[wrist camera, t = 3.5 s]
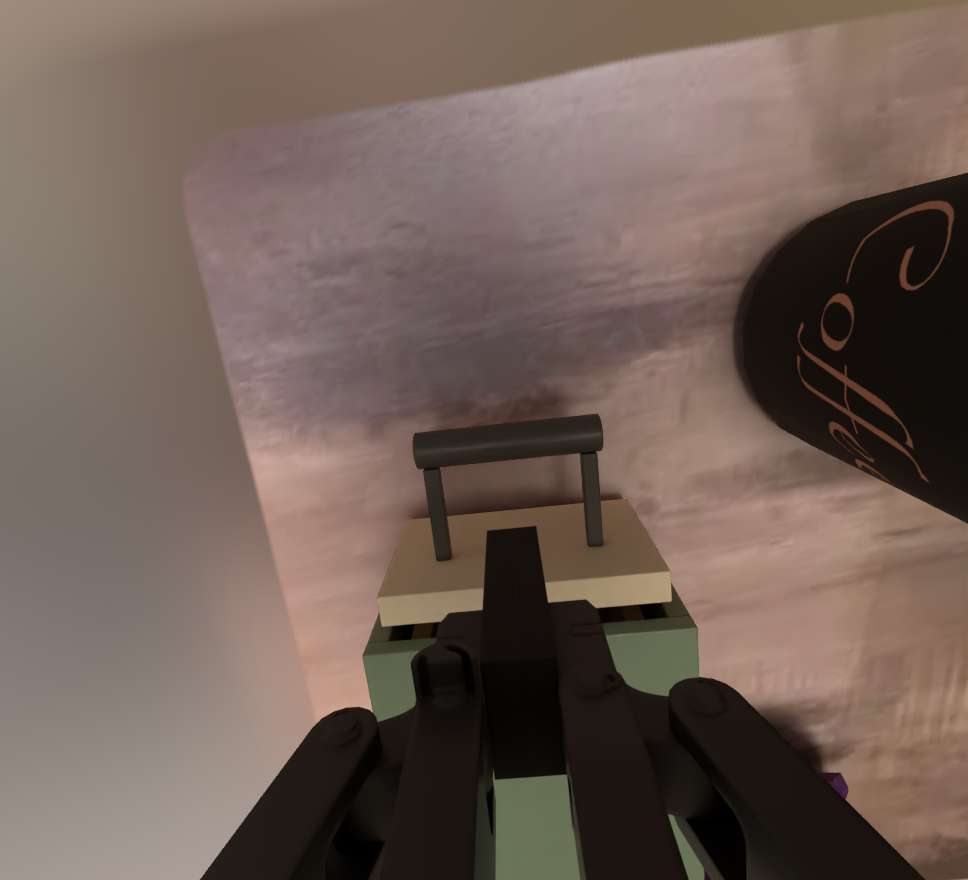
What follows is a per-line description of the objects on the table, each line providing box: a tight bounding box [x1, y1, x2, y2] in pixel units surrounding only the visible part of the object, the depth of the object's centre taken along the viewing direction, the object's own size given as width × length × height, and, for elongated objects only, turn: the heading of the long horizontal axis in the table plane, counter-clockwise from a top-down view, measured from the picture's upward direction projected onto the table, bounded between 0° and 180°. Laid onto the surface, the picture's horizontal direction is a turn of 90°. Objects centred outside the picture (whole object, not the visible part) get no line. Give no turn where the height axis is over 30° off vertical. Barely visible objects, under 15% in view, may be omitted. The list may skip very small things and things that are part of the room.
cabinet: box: [363, 583, 705, 880], centre depth 26 cm, size 14×12×9 cm
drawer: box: [377, 414, 672, 640], centre depth 25 cm, size 18×10×7 cm, turn 7°
